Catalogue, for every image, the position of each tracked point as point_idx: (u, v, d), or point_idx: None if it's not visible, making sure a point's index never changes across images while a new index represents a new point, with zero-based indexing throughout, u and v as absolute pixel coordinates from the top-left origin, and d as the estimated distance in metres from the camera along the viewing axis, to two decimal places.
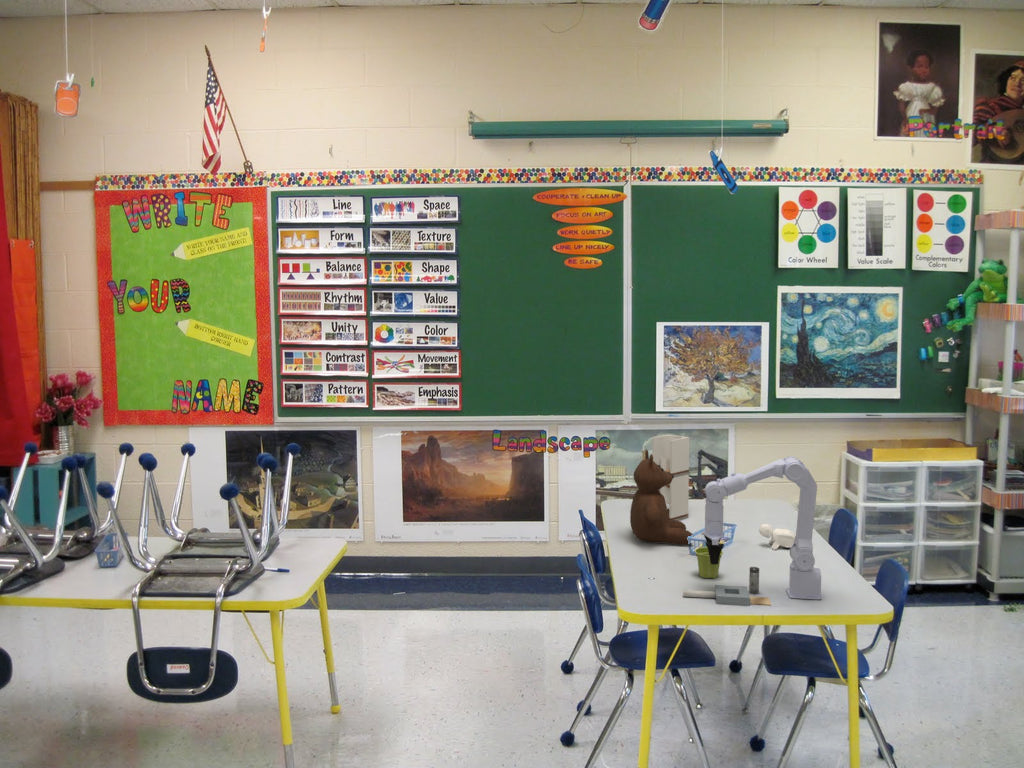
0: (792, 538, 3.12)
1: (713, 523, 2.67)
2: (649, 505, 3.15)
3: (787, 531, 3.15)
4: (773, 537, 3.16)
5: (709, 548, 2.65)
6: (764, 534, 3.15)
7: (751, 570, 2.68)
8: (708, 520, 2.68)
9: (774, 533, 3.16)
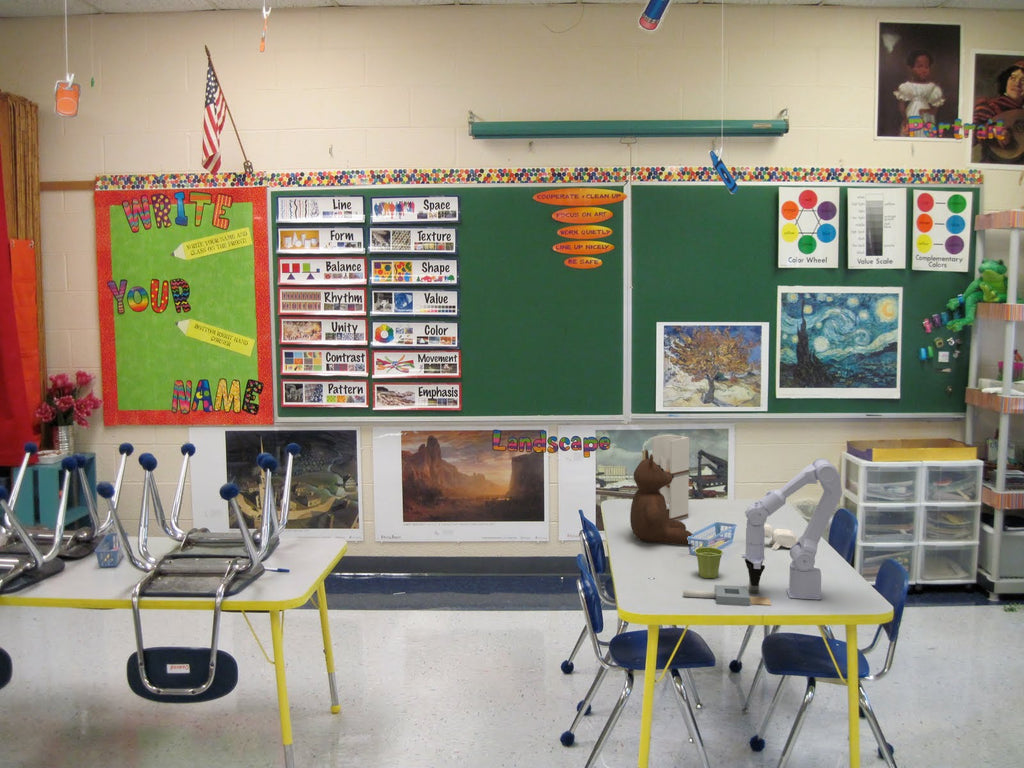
0: (793, 538, 3.12)
1: (754, 546, 2.65)
2: (649, 505, 3.15)
3: (788, 531, 3.15)
4: (773, 537, 3.16)
5: (750, 570, 2.66)
6: (765, 534, 3.15)
7: None
8: (749, 543, 2.66)
9: (775, 533, 3.15)
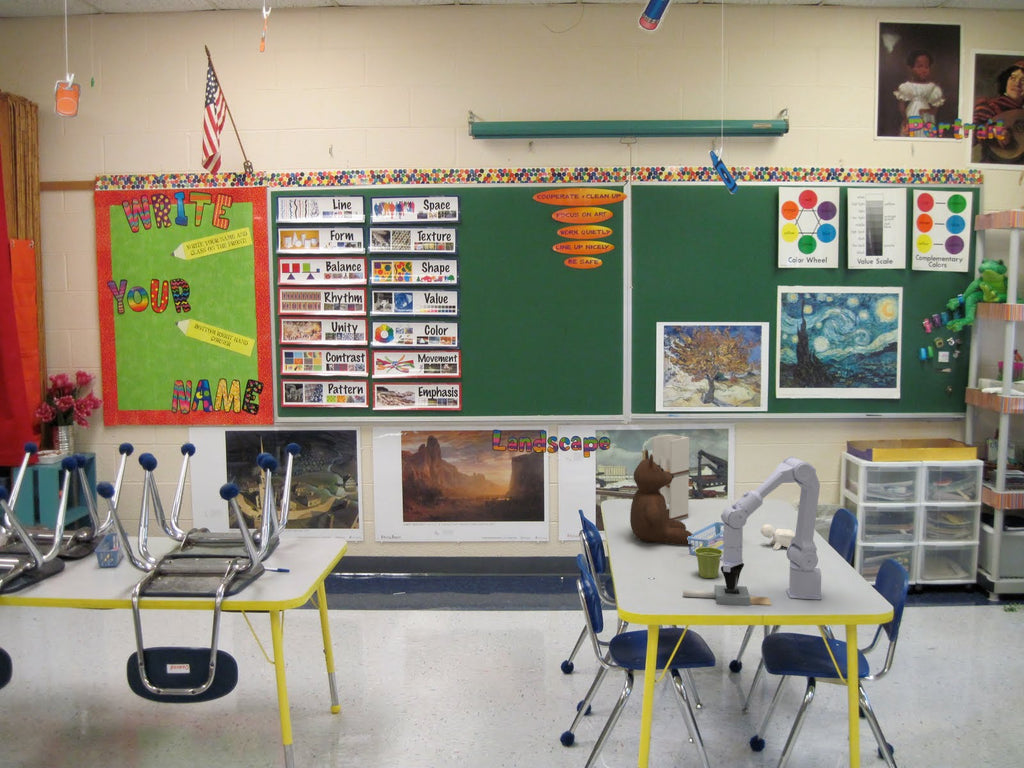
0: None
1: (729, 549, 2.60)
2: (649, 505, 3.15)
3: (789, 531, 3.15)
4: (774, 537, 3.15)
5: (724, 572, 2.61)
6: (766, 535, 3.15)
7: None
8: (725, 546, 2.61)
9: (776, 533, 3.15)
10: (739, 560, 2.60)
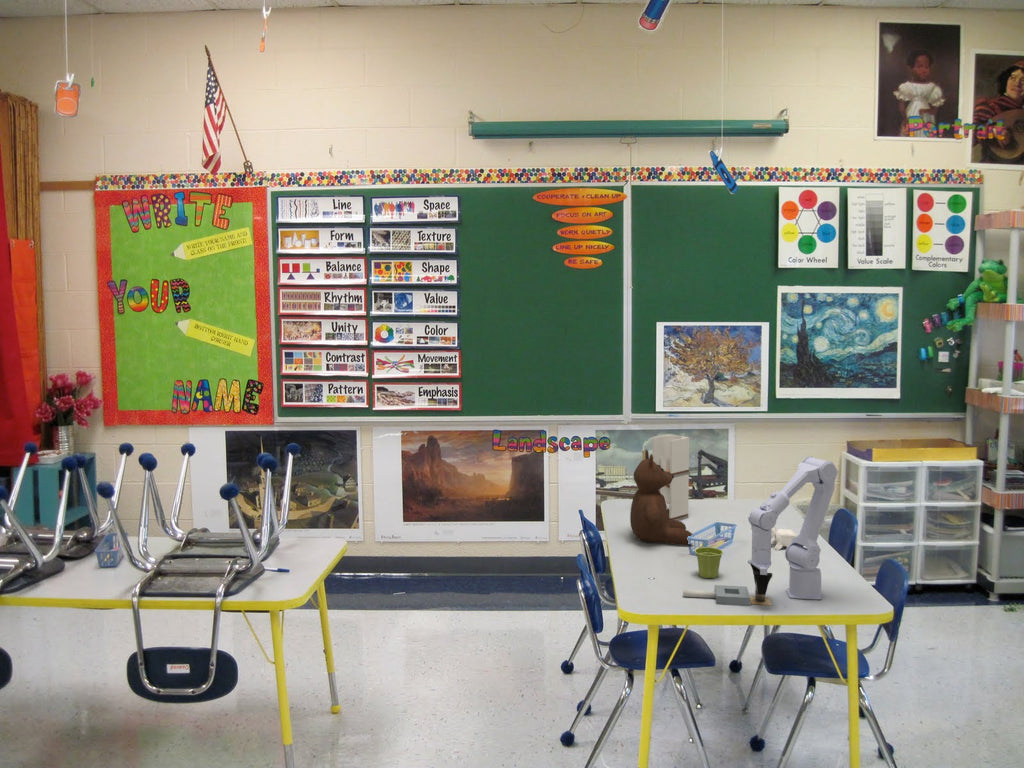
0: None
1: (761, 552, 2.57)
2: (649, 505, 3.15)
3: (790, 531, 3.14)
4: (776, 537, 3.15)
5: (757, 578, 2.56)
6: None
7: None
8: (755, 548, 2.58)
9: (777, 533, 3.15)
10: (769, 561, 2.59)
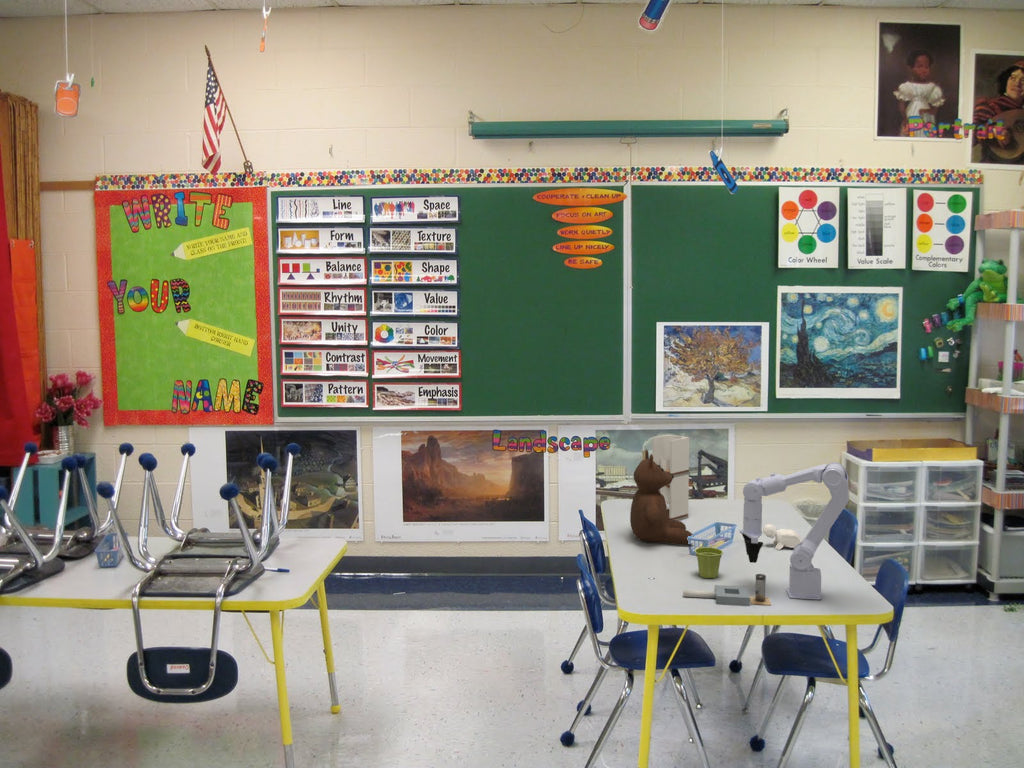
0: (796, 538, 3.12)
1: (752, 521, 2.69)
2: (649, 505, 3.15)
3: (791, 531, 3.14)
4: (777, 537, 3.15)
5: (748, 546, 2.67)
6: (768, 535, 3.15)
7: (758, 577, 2.60)
8: (747, 518, 2.69)
9: (778, 533, 3.15)
10: (760, 531, 2.70)
